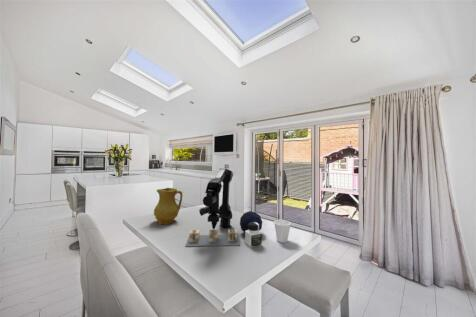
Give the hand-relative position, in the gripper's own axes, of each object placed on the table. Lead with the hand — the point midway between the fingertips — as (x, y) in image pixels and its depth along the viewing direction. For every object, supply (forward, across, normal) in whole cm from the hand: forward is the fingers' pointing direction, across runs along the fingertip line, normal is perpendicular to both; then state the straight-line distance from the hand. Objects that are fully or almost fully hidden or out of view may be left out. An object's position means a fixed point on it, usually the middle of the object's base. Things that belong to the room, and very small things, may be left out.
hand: (213, 228), depth 112 cm
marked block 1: (+6, 0, -11) cm, 13 cm away
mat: (+7, 0, 0) cm, 7 cm away
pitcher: (+7, -34, -36) cm, 50 cm away
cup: (+7, +2, +41) cm, 41 cm away
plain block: (+6, 0, 0) cm, 7 cm away
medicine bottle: (+7, +5, +23) cm, 25 cm away
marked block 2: (+6, 0, +11) cm, 13 cm away
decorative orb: (+7, -10, +24) cm, 27 cm away
